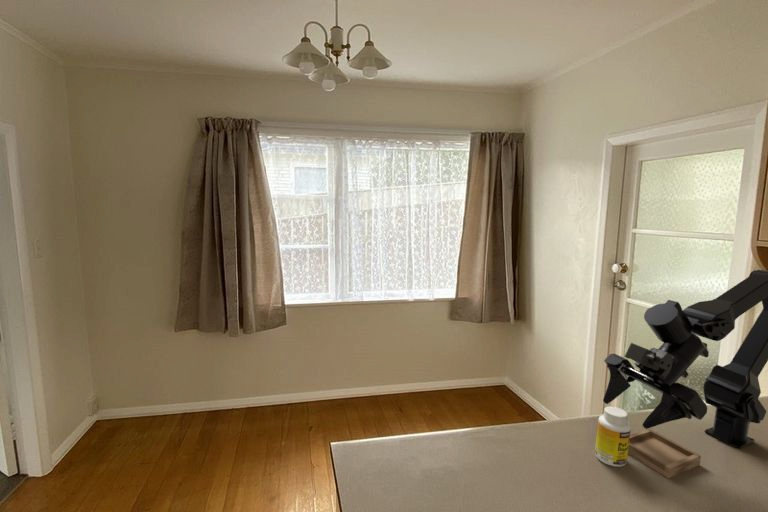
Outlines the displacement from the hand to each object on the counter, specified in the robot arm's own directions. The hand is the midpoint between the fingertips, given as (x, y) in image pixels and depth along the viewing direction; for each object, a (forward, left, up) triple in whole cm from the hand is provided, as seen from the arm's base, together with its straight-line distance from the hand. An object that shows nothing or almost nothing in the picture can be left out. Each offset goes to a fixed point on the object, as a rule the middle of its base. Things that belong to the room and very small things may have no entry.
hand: (623, 414), depth 77 cm
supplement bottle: (+2, 0, -10) cm, 10 cm away
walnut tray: (-8, +3, -9) cm, 13 cm away
